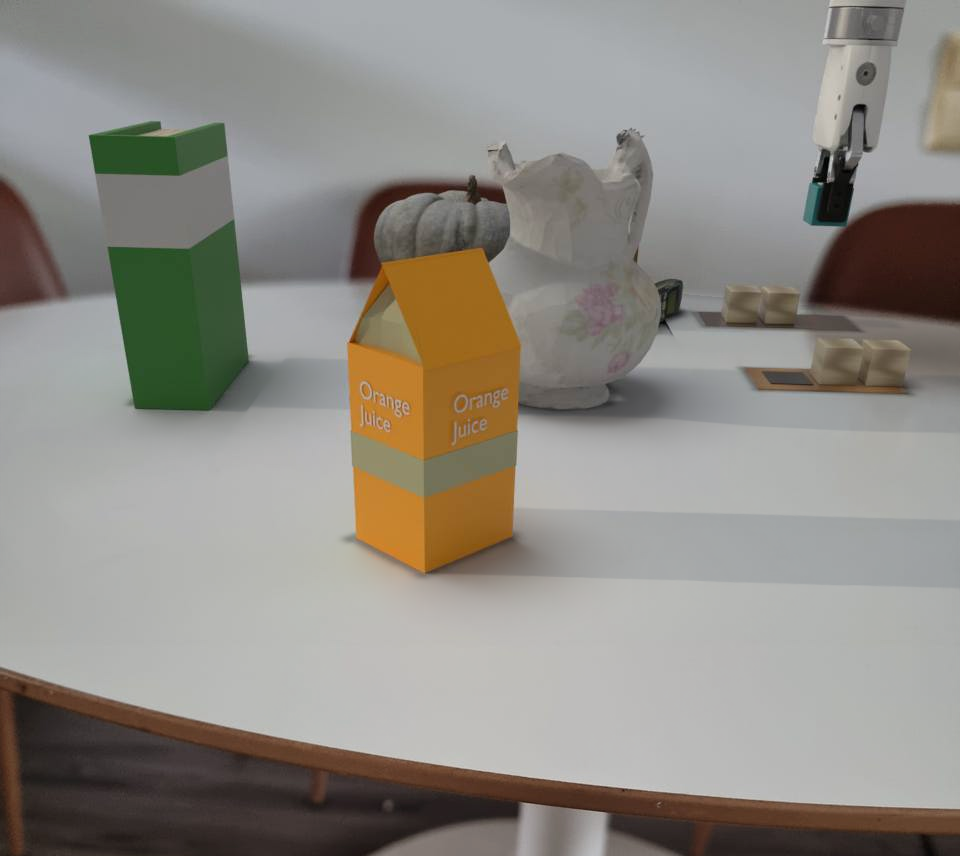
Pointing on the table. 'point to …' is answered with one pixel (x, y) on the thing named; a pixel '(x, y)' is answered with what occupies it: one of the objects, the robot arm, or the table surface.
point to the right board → (842, 368)
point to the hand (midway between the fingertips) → (825, 216)
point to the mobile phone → (669, 297)
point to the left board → (799, 322)
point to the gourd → (442, 225)
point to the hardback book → (173, 260)
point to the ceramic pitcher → (576, 271)
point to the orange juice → (434, 410)
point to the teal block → (813, 206)
